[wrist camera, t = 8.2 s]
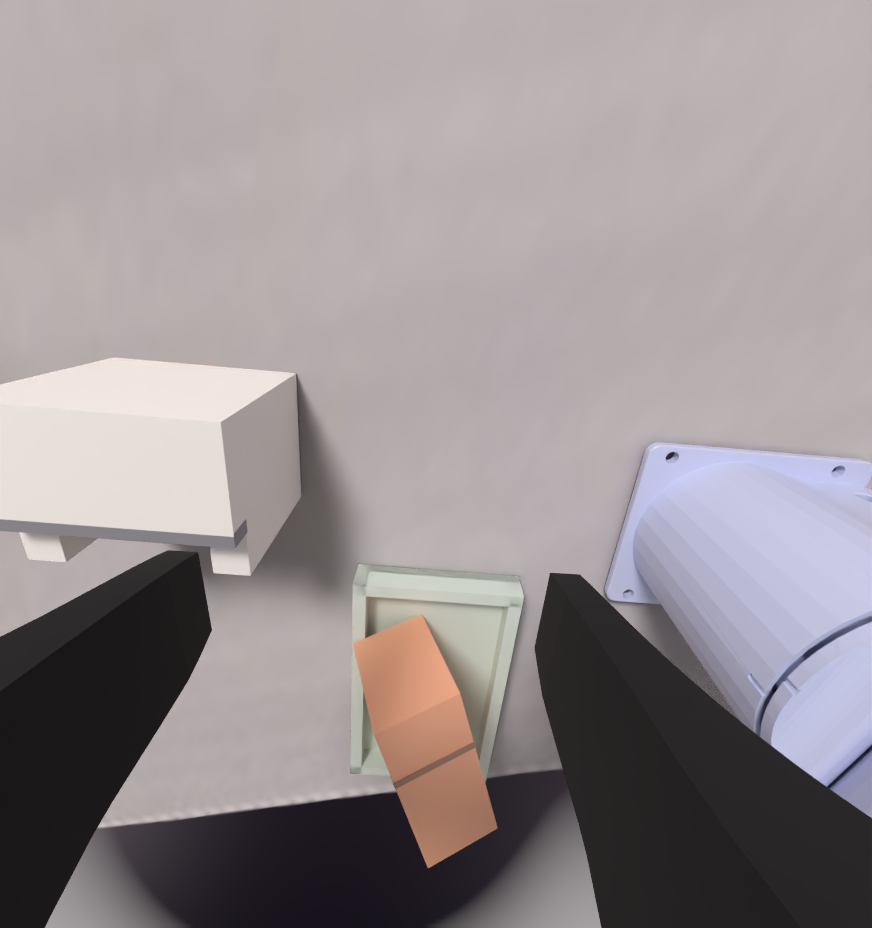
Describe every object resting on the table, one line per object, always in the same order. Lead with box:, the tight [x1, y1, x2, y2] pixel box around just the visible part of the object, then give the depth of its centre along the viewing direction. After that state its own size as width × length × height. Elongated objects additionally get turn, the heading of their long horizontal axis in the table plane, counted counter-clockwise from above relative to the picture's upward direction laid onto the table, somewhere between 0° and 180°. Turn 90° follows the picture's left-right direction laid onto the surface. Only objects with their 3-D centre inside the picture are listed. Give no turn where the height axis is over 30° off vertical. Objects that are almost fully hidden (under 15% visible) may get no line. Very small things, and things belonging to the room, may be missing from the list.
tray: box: [350, 564, 524, 782], centre depth 23 cm, size 8×13×2 cm, turn 175°
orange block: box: [353, 614, 497, 868], centre depth 20 cm, size 4×9×5 cm, turn 13°
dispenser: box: [0, 358, 301, 576], centre depth 15 cm, size 7×6×6 cm
